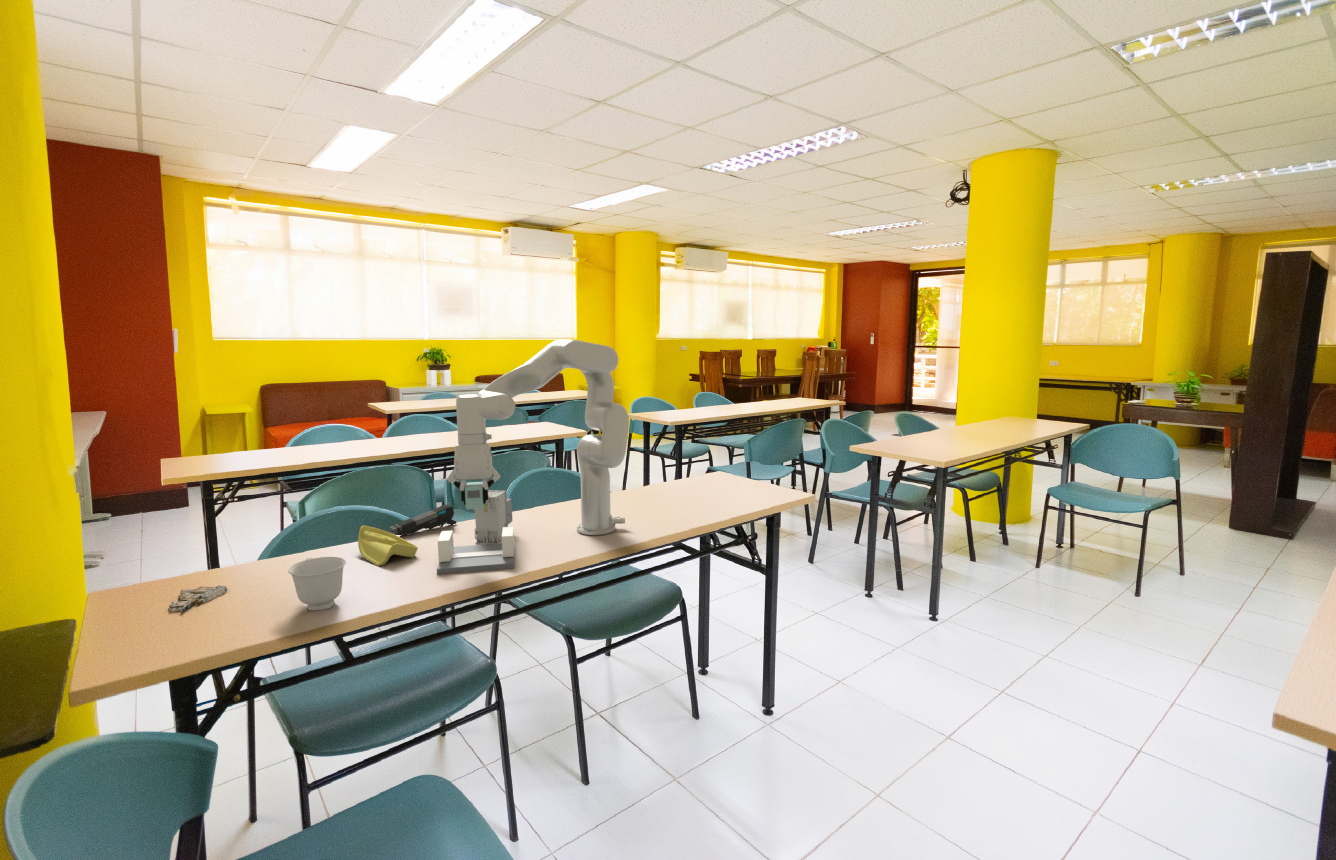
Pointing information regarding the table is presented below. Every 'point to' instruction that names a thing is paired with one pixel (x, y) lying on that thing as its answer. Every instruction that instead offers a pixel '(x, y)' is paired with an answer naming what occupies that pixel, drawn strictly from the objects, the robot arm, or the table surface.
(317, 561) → the teacup
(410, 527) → the gun
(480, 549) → the rail board
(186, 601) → the circuit board
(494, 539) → the circuit breaker
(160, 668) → the table surface
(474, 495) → the block
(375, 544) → the plastic component
